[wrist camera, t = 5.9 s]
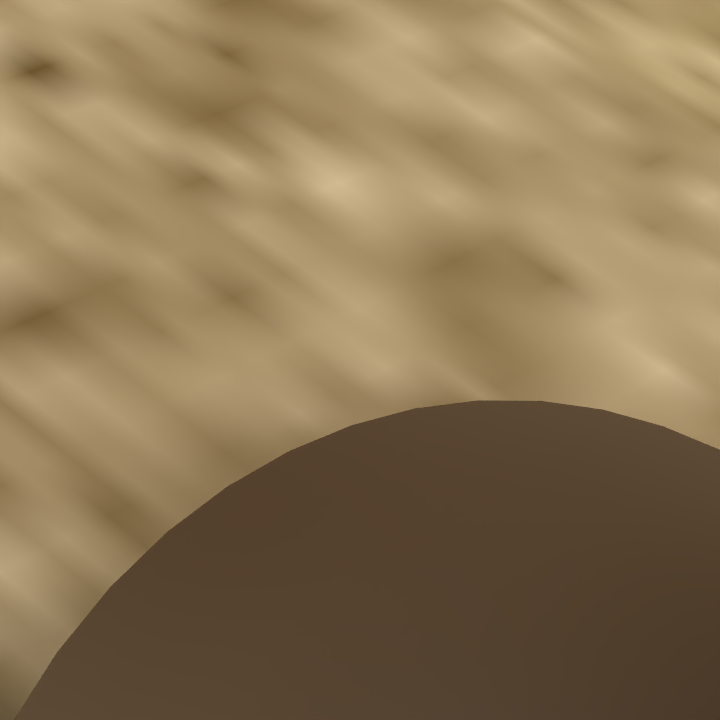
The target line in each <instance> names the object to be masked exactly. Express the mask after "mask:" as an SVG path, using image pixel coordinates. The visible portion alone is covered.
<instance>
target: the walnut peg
mask: <svg viewBox="0 0 720 720" xmlns="http://www.w3.org/2000/svg"><path fill="white" fill-rule="evenodd" d="M15 720H720V450H719V449H716V448H714V447H711V446H709V445H707V444H704V443H702V442H699V441H697V440H695V439H692V438H690V437H687V436H685V435H683V434H680V433H678V432H675V431H673V430H671V429H668V428H666V427H663V426H660V425H656V424H653V423H649V422H645V421H642V420H638V419H635V418H631V417H627V416H624V415H620V414H616V413H613V412H609V411H606V410H601V409H594V408H587V407H580V406H573V405H566V404H558V403H551V402H544V401H471V402H463V403H455V404H448V405H440V406H432V407H424V408H416V409H412V410H408V411H404V412H400V413H397V414H393V415H389V416H385V417H382V418H378V419H374V420H370V421H367V422H363V423H359V424H355V425H352V426H349V427H347V428H344V429H342V430H339V431H337V432H335V433H332V434H330V435H327V436H325V437H322V438H320V439H318V440H315V441H313V442H310V443H308V444H306V445H303V446H301V447H298V448H296V449H293V450H291V451H289V452H287V453H285V454H283V455H282V456H280V457H278V458H277V459H275V460H273V461H271V462H270V463H268V464H266V465H264V466H263V467H261V468H259V469H257V470H256V471H254V472H252V473H250V474H249V475H247V476H245V477H243V478H242V479H240V480H238V481H236V482H235V483H233V484H231V485H229V486H228V487H226V488H225V489H224V490H222V491H221V492H220V493H218V494H217V495H216V496H214V497H213V498H212V499H210V500H209V501H208V502H206V503H205V504H204V505H202V506H201V507H200V508H198V509H197V510H196V511H194V512H193V513H192V514H191V515H189V516H188V517H187V518H185V519H184V520H183V521H181V522H180V523H179V524H177V525H176V526H175V527H173V528H172V529H171V530H169V531H168V532H167V533H166V534H165V535H164V536H163V537H162V538H161V539H160V540H159V541H158V542H157V543H156V544H154V545H153V546H152V547H151V548H150V549H149V550H148V551H147V552H146V553H145V554H144V555H143V556H142V557H141V558H140V559H139V560H138V561H137V562H136V563H135V564H134V565H133V566H132V567H131V568H130V569H129V570H128V571H127V572H126V573H125V574H123V575H122V576H121V577H120V578H119V579H118V580H117V581H116V582H115V583H114V584H113V585H112V586H111V587H110V588H109V590H108V591H107V592H106V593H105V594H104V596H103V597H102V598H101V599H100V601H99V602H98V603H97V604H96V606H95V607H94V608H93V609H92V610H91V612H90V613H89V614H88V615H87V617H86V618H85V619H84V620H83V621H82V623H81V624H80V625H79V626H78V628H77V629H76V630H75V631H74V633H73V634H72V635H71V636H70V637H69V639H68V640H67V641H66V642H65V644H64V645H63V646H62V647H61V649H60V650H59V651H58V652H57V654H56V655H55V657H54V658H53V660H52V662H51V663H50V665H49V666H48V668H47V669H46V671H45V673H44V674H43V676H42V677H41V679H40V680H39V682H38V684H37V685H36V687H35V688H34V690H33V691H32V693H31V694H30V696H29V698H28V699H27V701H26V702H25V704H24V705H23V707H22V709H21V710H20V712H19V713H18V715H17V716H16V718H15Z"/></svg>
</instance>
